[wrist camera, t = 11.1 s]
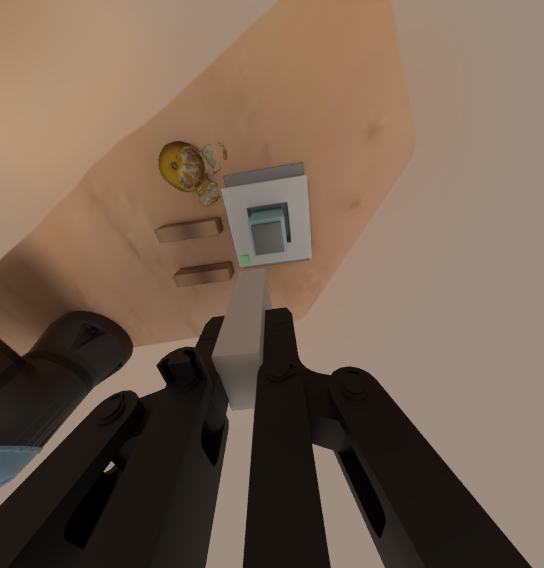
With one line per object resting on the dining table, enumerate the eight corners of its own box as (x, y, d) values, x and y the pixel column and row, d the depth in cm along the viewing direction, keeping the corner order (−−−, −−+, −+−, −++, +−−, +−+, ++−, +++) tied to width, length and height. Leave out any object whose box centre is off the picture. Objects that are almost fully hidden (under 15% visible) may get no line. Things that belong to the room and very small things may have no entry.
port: (244, 267, 35) (241, 277, 32) (224, 175, 29) (217, 175, 25) (309, 258, 34) (312, 268, 31) (302, 162, 28) (306, 160, 25)
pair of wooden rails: (184, 278, 36) (177, 286, 34) (164, 225, 32) (154, 229, 29) (234, 272, 36) (230, 280, 33) (220, 216, 31) (215, 220, 29)
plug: (259, 236, 32) (253, 259, 23) (254, 209, 30) (246, 223, 22) (284, 232, 32) (288, 254, 23) (281, 205, 30) (284, 217, 21)
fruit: (219, 208, 31) (213, 212, 28) (163, 192, 30) (150, 194, 27) (228, 145, 28) (222, 141, 24) (165, 125, 27) (149, 118, 23)
